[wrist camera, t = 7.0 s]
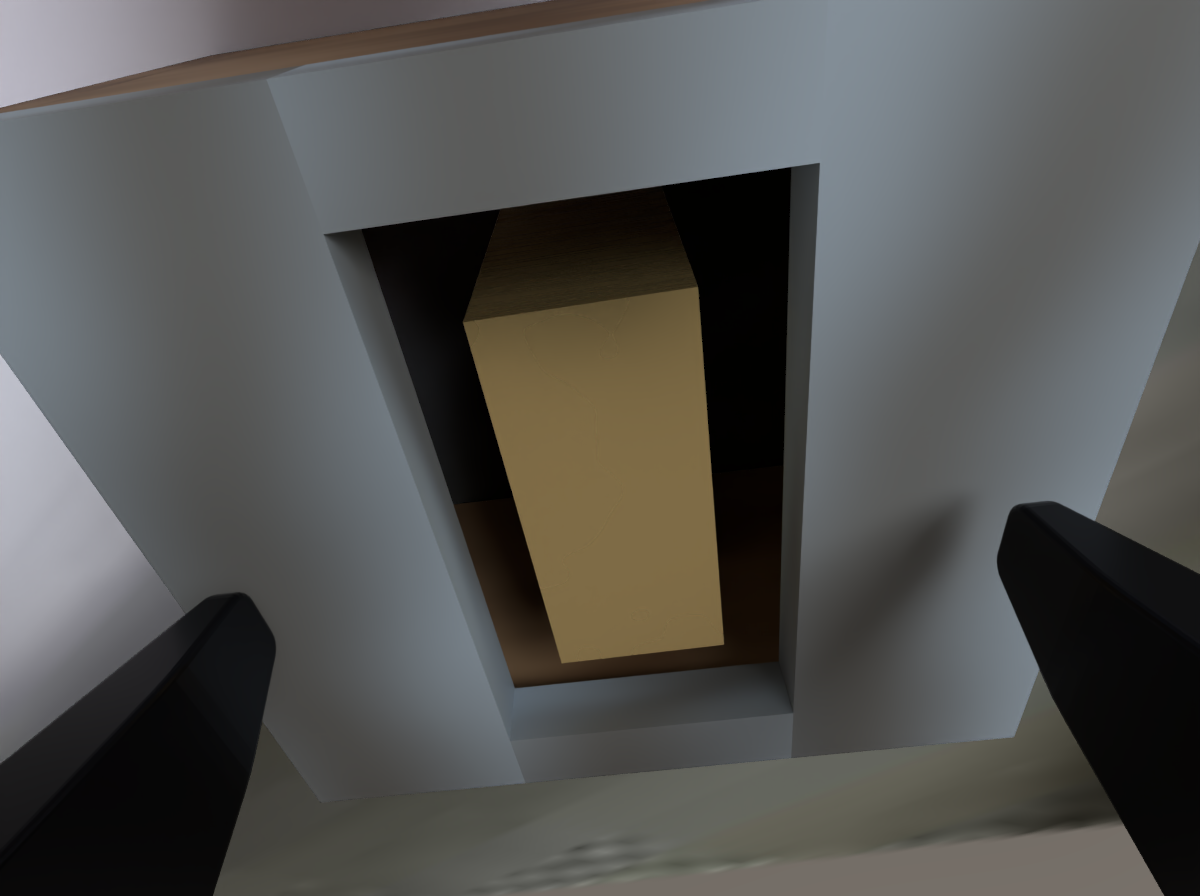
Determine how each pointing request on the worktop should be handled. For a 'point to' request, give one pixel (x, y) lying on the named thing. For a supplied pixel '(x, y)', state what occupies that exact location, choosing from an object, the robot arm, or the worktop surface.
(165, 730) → the robot arm
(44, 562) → the worktop surface
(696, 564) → the wooden rectangular block
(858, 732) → the coin box
